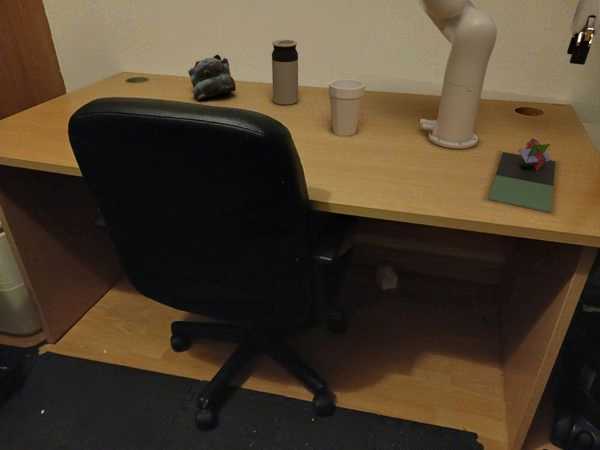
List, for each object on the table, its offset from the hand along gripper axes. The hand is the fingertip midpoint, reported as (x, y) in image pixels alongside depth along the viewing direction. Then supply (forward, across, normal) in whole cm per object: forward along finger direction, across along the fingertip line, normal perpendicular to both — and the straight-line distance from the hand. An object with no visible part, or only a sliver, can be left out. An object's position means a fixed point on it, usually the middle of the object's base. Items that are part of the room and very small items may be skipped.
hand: (575, 58), depth 115 cm
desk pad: (+21, +26, -6) cm, 34 cm away
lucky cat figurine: (+23, +2, -101) cm, 104 cm away
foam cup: (+22, +14, -52) cm, 58 cm away
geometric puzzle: (+21, +20, -4) cm, 29 cm away
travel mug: (+22, -3, -77) cm, 80 cm away
